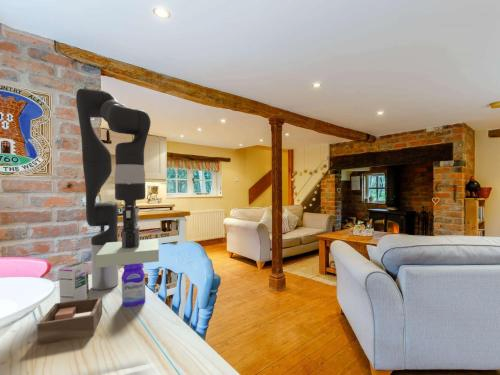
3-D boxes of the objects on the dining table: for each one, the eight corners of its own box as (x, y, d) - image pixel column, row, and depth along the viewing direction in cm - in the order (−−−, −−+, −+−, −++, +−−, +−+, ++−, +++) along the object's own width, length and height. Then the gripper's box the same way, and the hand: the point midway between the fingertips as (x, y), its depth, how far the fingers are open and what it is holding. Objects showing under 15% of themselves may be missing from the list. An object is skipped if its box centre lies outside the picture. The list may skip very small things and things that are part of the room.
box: (55, 323, 76) (55, 303, 76) (102, 316, 80) (102, 297, 80) (38, 348, 65) (37, 324, 64) (93, 338, 69) (93, 315, 69)
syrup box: (74, 313, 82) (74, 267, 82) (59, 311, 83) (58, 266, 83) (89, 305, 87) (88, 262, 87) (74, 303, 89) (73, 261, 88)
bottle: (122, 310, 83) (121, 256, 83) (121, 303, 88) (120, 252, 88) (146, 305, 87) (145, 253, 86) (144, 299, 92) (143, 250, 91)
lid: (106, 253, 75) (106, 225, 75) (158, 248, 80) (158, 222, 79) (96, 267, 62) (95, 234, 62) (158, 261, 66) (158, 230, 66)
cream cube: (75, 328, 72) (75, 314, 72) (91, 325, 73) (91, 311, 73) (70, 336, 68) (70, 321, 68) (88, 333, 70) (88, 318, 69)
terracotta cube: (60, 322, 75) (59, 308, 75) (76, 320, 76) (76, 306, 76) (55, 330, 71) (54, 315, 71) (72, 327, 73) (71, 313, 72)
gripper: (118, 182, 76) (119, 241, 76) (110, 182, 62) (111, 253, 63) (146, 182, 78) (146, 239, 79) (144, 181, 65) (145, 250, 65)
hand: (131, 245), depth 71 cm, fingers closed on lid, 4 cm apart
